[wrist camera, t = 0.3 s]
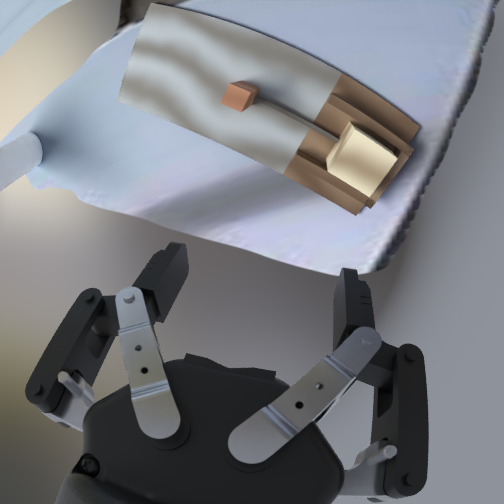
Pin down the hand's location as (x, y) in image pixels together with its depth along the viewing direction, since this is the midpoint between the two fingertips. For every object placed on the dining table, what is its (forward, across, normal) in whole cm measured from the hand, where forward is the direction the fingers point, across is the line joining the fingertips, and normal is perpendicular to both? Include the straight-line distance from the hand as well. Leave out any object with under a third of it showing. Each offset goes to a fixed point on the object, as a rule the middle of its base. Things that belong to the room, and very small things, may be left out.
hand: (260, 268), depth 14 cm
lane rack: (+26, +5, -5) cm, 27 cm away
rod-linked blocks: (+25, -2, -2) cm, 26 cm away
